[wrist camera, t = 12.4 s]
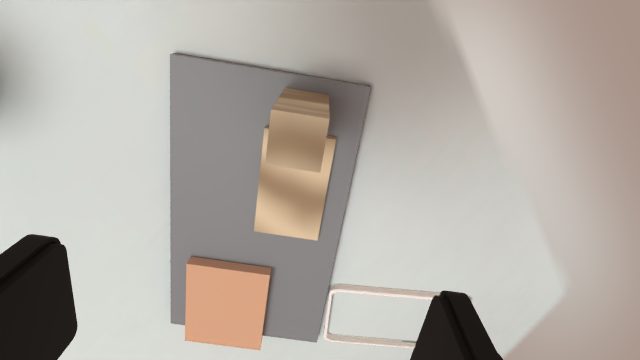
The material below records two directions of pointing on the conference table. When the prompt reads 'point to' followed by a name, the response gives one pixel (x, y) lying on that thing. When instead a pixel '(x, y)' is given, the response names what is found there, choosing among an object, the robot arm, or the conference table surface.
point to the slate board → (251, 184)
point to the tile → (225, 302)
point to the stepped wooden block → (295, 166)
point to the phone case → (372, 291)
